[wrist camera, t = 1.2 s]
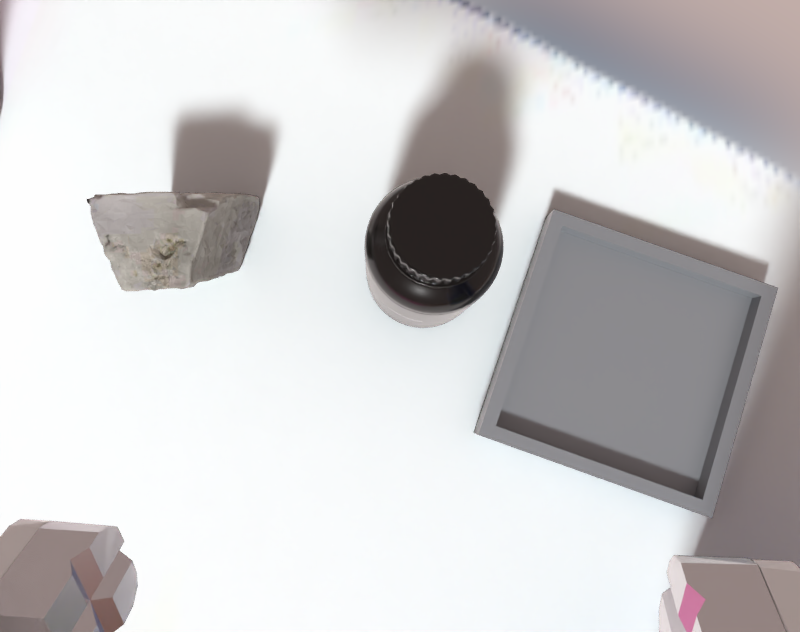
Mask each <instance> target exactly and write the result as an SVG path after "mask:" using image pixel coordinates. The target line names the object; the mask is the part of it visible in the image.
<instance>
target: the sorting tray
mask: <svg viewBox="0 0 800 632" xmlns="http://www.w3.org/2000/svg"><path fill="white" fill-rule="evenodd" d="M777 290H778V288H777V287H774V286H772V285H769V284H766V283H763V282H760V281H757V280H754V279H752V278H749V277H746V276H743V275H740V274H737V273H735V272H732V271H729V270H726V269H723V268H720V267H717V266H715V265H712V264H709V263H706V262H703V261H700V260H697V259H695V258H692V257H689V256H686V255H683V254H680V253H678V252H675V251H672V250H669V249H666V248H663V247H660V246H658V245H655V244H652V243H649V242H646V241H643V240H641V239H638V238H635V237H632V236H629V235H626V234H623V233H621V232H618V231H615V230H612V229H609V228H606V227H604V226H601V225H598V224H595V223H592V222H589V221H586V220H584V219H581V218H578V217H575V216H572V215H569V214H567V213H564V212H561V211H558V210H555V209H553V210H552V211H551V212H550V214H549V215H548V216H547V217H546V219H545V222H544V225H543V228H542V231H541V234H540V237H539V240H538V243H537V246H536V249H535V252H534V255H533V258H532V261H531V264H530V267H529V270H528V273H527V276H526V279H525V282H524V285H523V288H522V291H521V294H520V297H519V300H518V303H517V306H516V309H515V311H514V314H513V317H512V320H511V323H510V326H509V329H508V332H507V335H506V338H505V341H504V344H503V347H502V350H501V353H500V356H499V359H498V362H497V365H496V368H495V371H494V374H493V377H492V380H491V383H490V386H489V389H488V392H487V395H486V398H485V401H484V404H483V407H482V410H481V413H480V416H479V419H478V422H477V425H476V428H475V431H474V433H476V434H478V435H481V436H483V437H486V438H489V439H492V440H494V441H497V442H500V443H503V444H506V445H508V446H511V447H514V448H517V449H520V450H522V451H525V452H528V453H531V454H534V455H536V456H539V457H542V458H545V459H548V460H550V461H553V462H556V463H559V464H562V465H564V466H567V467H570V468H573V469H576V470H578V471H581V472H584V473H587V474H590V475H592V476H595V477H598V478H601V479H604V480H606V481H609V482H612V483H615V484H618V485H620V486H623V487H626V488H629V489H632V490H634V491H637V492H640V493H643V494H646V495H648V496H651V497H654V498H657V499H659V500H662V501H665V502H668V503H671V504H673V505H676V506H679V507H682V508H685V509H687V510H690V511H693V512H696V513H699V514H701V515H704V516H707V517H710V518H712V517H713V514H714V510H715V507H716V503H717V500H718V496H719V493H720V489H721V486H722V482H723V479H724V475H725V472H726V468H727V465H728V461H729V458H730V454H731V451H732V447H733V444H734V440H735V437H736V433H737V430H738V426H739V423H740V419H741V416H742V412H743V409H744V405H745V402H746V398H747V395H748V391H749V388H750V384H751V381H752V377H753V374H754V370H755V367H756V363H757V360H758V356H759V353H760V349H761V346H762V342H763V339H764V335H765V332H766V328H767V325H768V321H769V318H770V314H771V311H772V307H773V304H774V300H775V297H776V293H777Z"/></svg>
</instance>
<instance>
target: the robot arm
mask: <svg viewBox="0 0 800 632" xmlns="http://www.w3.org/2000/svg"><path fill="white" fill-rule="evenodd" d="M123 543H124V539H123V537H122V535H121V533H120V531H119V529H118V527H116V526H106V525H94V524H82V523H70V522H58V521H44V520H29V519H20V520H18V521H17V522H15V523H13V524H12V525H10V526H9V527H8V528H7V529H6V530H5V532H4V533H3V534H2V535H1V537H0V632H114V631H116V630H117V629H118V628H119V627H121V626H122V625H123V624H124V623H125V621H126V619H127V617H128V615H129V613H130V611H131V609H132V607H133V604H134V599H135V595H136V590H137V586H138V585H137V572H136V569H135V566H134V564H133V561H132V560H131V559H129V558H128V557H127V556H126V555H124V554H123V553H122V552H121V551H119V550H120V548H121V546H122V545H123ZM667 576H668V579H669V583H670V587H671V588H669V589H668V590H666V591H665V592H663V593H662V596H661V601H660V607H659V632H800V568H799V567H798V566H797V565H796V564H795V563H794V562H792V561H776V560H757V559H752V560H750V559H748V558H731V557H706V556H682V555H674V556H673V557H672V558H671V559H670V561H669V565H668V569H667Z"/></svg>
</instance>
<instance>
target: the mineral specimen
mask: <svg viewBox="0 0 800 632" xmlns="http://www.w3.org/2000/svg"><path fill="white" fill-rule="evenodd" d="M87 201H88V203H89V204H90V206H91V216H92V220H93V224H94V226H95V229H96V231H97V234H98V237H99V239H100V242H101V244H102V245H103V247H104V253H105V255H106V257H107V258H108V259H109V260H110V262H111V267H112V270H113V272H114V274H115V276H116V279H117V281H118V283H119V285H120V287H121V289H122V290H124V291H140V290H158V289H167V288H179V289H184V288H189V287H194V286H195V285H196V284H197V283H198V282H202V281H209V280H211V279H214V278H218V277H219V276H224V275H225V274H227V273H233V272H235V271H238V270H239V269H240V267H241V263H242V261H243V258H244V254H245V252H246V249H247V246H248V244H249V239H250V236H251V234H252V232H253V229H254V225H255V222H256V220H257V214H258V211H259V197H258V196H254V195H249V194H241V193H237V194H225V193H181V194H180V193H179V192H143V193H135V194H126V193H117V194H107V195H95V196H94V197H93V198H90V199H87Z"/></svg>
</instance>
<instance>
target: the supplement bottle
mask: <svg viewBox="0 0 800 632" xmlns="http://www.w3.org/2000/svg"><path fill="white" fill-rule="evenodd" d="M502 257H503V236H502V231H501V227H500V224H499V221H498V219H497V216H496V215H495V213H494V209H493V208H492V207H491V206H490V202H489V199H487V198H486V197H485V196H484V193H483V191H481V190H479V189H478V188H477V187H476V185H475V184H473V183H469V181H468V180H467V179H465V178H460V177H458V176H457V175H449V174H446V173H443V174H440V175H439V174H435V173H434V174H432V175H431V176H423V177H422V178H420V179H416V180H412V181H409V182H407V183H404V184H402V185H400V186H399V187H397V188H395V189H394V190H393V191H391V192H390V193H389V194H388V195H387V196H385V197H384V198H383V200H382V201H381V202H380V203H379V204H378V206H377V207H376V209H375V210H374V212H373V214H372V216H371V218H370V221H369V224H368V227H367V231H366V236H365V261H366V275H367V281H368V286H369V289H370V292H371V294H372V296H373V298H374V300H375V302H376V303H377V305H378V306H379V307H380V308H381V309H382V310H383V312H384V313H386V314H387V315H388V316H389V317H391V318H392V319H394V320H395V321H397V322H399V323H402V324H404V325H407V326H411V327H418V328H428V327H435V326H439V325H442V324H445V323H447V322H449V321H451V320H453V319H454V318H456V317H457V316H459V315H460V314H461V313H462V312H464V311H465V310H466V309H467V308H468V307H470V306H471V305H472V304H473V303H474V302H476V301H477V300H478V299H479V298H480V297H481V296H482V295H483V294H484V293H485V292H486V291H487V290H488V289H489V287H490V286H491V284H492V283H493V281H494V279H495V278H496V276H497V274H498V271H499V269H500V265H501V262H502Z"/></svg>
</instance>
